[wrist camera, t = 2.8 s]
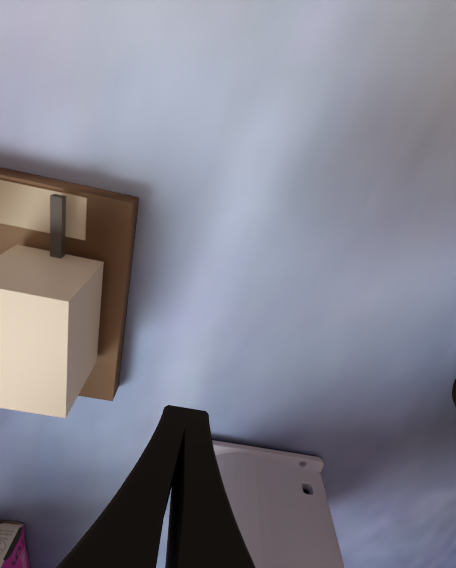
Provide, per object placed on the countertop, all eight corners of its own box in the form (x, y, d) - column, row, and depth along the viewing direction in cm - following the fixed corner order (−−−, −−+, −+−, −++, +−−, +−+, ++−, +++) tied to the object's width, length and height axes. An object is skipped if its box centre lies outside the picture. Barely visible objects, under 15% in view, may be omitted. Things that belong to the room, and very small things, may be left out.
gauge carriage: (107, 204, 15) (70, 230, 12) (96, 361, 19) (65, 418, 16) (-34, 173, 15) (-119, 191, 11) (-18, 341, 19) (-77, 395, 15)
